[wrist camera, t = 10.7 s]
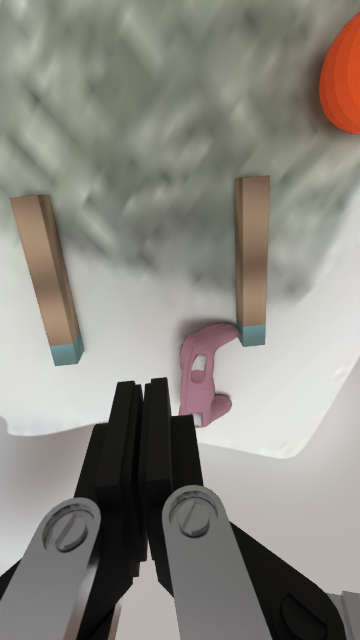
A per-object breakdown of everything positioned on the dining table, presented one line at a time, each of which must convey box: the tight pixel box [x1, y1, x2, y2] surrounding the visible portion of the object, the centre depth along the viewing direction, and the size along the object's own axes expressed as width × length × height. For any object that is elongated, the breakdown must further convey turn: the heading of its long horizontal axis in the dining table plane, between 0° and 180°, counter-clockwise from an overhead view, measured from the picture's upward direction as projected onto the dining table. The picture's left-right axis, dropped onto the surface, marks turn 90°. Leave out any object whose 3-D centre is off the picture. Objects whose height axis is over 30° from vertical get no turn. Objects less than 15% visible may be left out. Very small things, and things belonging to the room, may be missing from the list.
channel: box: [10, 175, 270, 366], centre depth 26 cm, size 14×19×2 cm
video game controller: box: [178, 323, 239, 428], centre depth 29 cm, size 10×5×7 cm, turn 179°
